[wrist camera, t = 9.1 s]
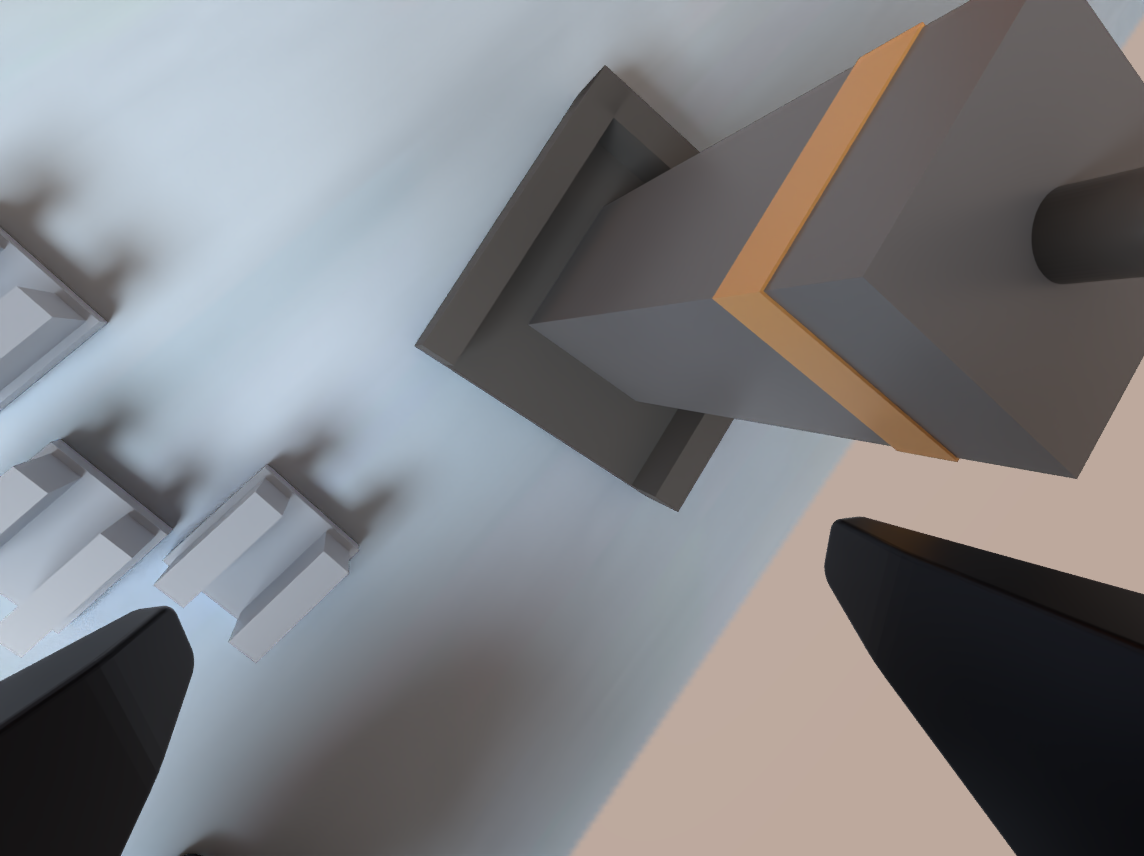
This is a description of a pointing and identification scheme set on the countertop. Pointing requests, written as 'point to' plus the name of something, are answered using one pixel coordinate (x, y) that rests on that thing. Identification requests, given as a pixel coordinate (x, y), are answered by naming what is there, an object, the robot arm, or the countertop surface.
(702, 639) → the countertop surface
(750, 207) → the connector
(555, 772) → the countertop surface
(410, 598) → the countertop surface
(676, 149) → the dark grey square tray
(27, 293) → the clips
